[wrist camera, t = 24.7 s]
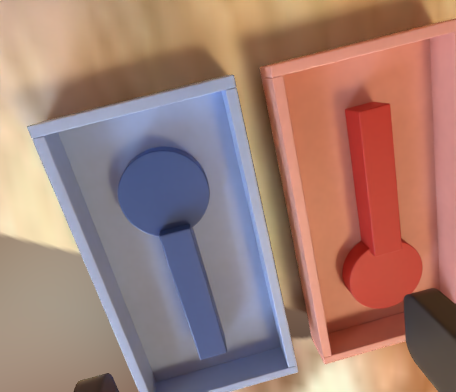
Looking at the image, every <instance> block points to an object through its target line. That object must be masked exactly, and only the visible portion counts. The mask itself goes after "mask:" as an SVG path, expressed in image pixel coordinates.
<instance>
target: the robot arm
mask: <svg viewBox="0 0 456 392" xmlns="http://www.w3.org/2000/svg"><path fill="white" fill-rule="evenodd" d="M404 319H405V337H406V343H407V347H408V350H409V352H410V354H411V356H412V358H413V360H414V361H415V363H416V364H417V365H418V367H419V368H420V369H421V370H422V372H423V373H424V374H425V375H426V377H427V378H428V379H429V380H430V382H431V383H432V384H433V385H434V387H435V388H436V389H437V390H438V392H456V304H455V303H453V302H452V301H451V300H450V299H449V298H448V297H446V296H445V295H444V294H443V293H442V292H441V291H439V290H438V289H436V288H430V289H426V290H422V291H418V292H415V293H411V294H407V295H405V297H404ZM74 392H119V391H118V389H117V386H116V384H115V382H114V379H113V377H112V376H111V374H109V373H107V374H103V375H99V376H95V377H92V378H88V379H84V380H80V381H79V382H78V383H77V384H76V387H75V389H74Z"/></svg>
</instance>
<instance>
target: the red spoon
mask: <svg viewBox="0 0 456 392" xmlns="http://www.w3.org/2000/svg"><path fill="white" fill-rule="evenodd" d="M345 116H346V124H347V131H348V139H349V147H350V155H351V163H352V171H353V179H354V187H355V195H356V203H357V211H358V219H359V227H360V234H361V241H360V242H359V243H358V244H356V245H355V246H354V247H353V248H352V249H351V251H350V252H349V253H348V255H347V257H346V259H345V261H344V264H343V268H342V277H343V282H344V284H345V286H346V288H347V289H348V290H349V292H350V293H351V294H352V296H353V297H354V298H355V299H356V300H357V301H358V302H359V303H360V304H362V305H364V306H366V307H370V308H375V309H382V308H388V307H391V306H394V305H396V304H398V303H400V302H402V301H403V300H404V297H405V295H407V294H411V293H412V292H413V291H414V290H415V289H416V287H417V285H418V284H419V281H420V279H421V276H422V270H423V265H422V260H421V257H420V255H419V253H418V252H417V250H416V249H415V248H414V247H413V246H411V245H410V244H409V243H407V242H406V241H404V240H403V239H402V238H401V228H400V216H399V204H398V192H397V180H396V168H395V156H394V144H393V132H392V120H391V108H390V104H389V103H380V102H370V103H366V104H362V105H358V106H354V107H351V108H347V109H345Z"/></svg>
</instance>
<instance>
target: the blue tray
mask: <svg viewBox="0 0 456 392" xmlns="http://www.w3.org/2000/svg"><path fill="white" fill-rule="evenodd" d="M27 128H28V131H29V133H30V135H31V138H33V142H34V144H35V147H36V149H37V152H38V154H39V156H40V159H41V161H42V163H43V166H44V168H45V170H46V173H47V175H48V178H49V180H50V182H51V185H52V187H53V189H54V192H55V194H56V197H57V199H58V201H59V204H60V206H61V208H62V211H63V213H64V215H65V218H66V220H67V223H68V225H69V227H70V230H71V232H72V234H73V237H74V239H75V242H76V244H77V246H78V249H79V251H80V253H81V256H82V258H83V260H84V263H85V265H86V268H87V270H88V272H89V274H90V277H91V279H92V281H93V284H94V286H95V289H96V291H97V293H98V296H99V298H100V300H101V303H102V305H103V308H104V310H105V313H106V315H107V317H108V320H109V322H110V324H111V327H112V329H113V331H114V334H115V336H116V339H117V341H118V343H119V346H120V348H121V350H122V353H123V355H124V357H125V360H126V362H127V364H128V367H129V369H130V371H131V374H132V376H133V379H134V381H135V383H136V386H137V388H138V391H139V392H230V391H234V390H237V389H241V388H244V387H248V386H251V385H255V384H258V383H262V382H265V381H269V380H272V379H276V378H279V377H283V376H286V375H289V374H293V373H296V372H298V368H297V363H296V359H295V354H294V349H293V345H292V340H291V336H290V331H289V326H288V322H287V317H286V313H285V308H284V303H283V299H282V294H281V290H280V285H279V280H278V276H277V271H276V267H275V262H274V257H273V253H272V248H271V244H270V239H269V234H268V230H267V225H266V221H265V216H264V211H263V207H262V202H261V198H260V193H259V188H258V184H257V179H256V175H255V170H254V165H253V161H252V156H251V152H250V147H249V142H248V138H247V133H246V128H245V124H244V119H243V115H242V110H241V105H240V101H239V96H238V92H237V88H236V82H235V78H234V75H226V76H222V77H218V78H214V79H210V80H206V81H202V82H198V83H194V84H190V85H186V86H182V87H178V88H174V89H170V90H166V91H162V92H158V93H154V94H150V95H146V96H142V97H138V98H134V99H130V100H126V101H122V102H118V103H114V104H110V105H106V106H102V107H98V108H94V109H90V110H86V111H82V112H78V113H74V114H70V115H66V116H62V117H58V118H54V119H50V120H46V121H43V122H40V123H36V124H33V125H30V126H27ZM156 147H172V148H177V149H180V150H182V151H184V152H187V153H188V154H190V155H191V156H192V157H194V158H195V159H196V160H197V161H198V162H199V163H200V165H201V166H202V168H203V170H204V172H205V174H206V177H207V180H208V184H209V189H210V198H209V204H208V207H207V210H206V212H205V214H204V216H203V217H202V218H201V220H200V221H199V222H198V223H197V224H196V225H195V226H194V227H193V230H194V233H195V236H196V240H197V243H198V246H199V250H200V253H201V257H202V260H203V263H204V267H205V270H206V273H207V277H208V280H209V284H210V287H211V290H212V294H213V297H214V300H215V304H216V307H217V311H218V314H219V317H220V321H221V324H222V327H223V331H224V334H225V340H226V346H227V353H224V354H221V355H217V356H214V357H210V358H207V359H203V360H201V359H200V357H199V354H198V351H197V348H196V345H195V342H194V339H193V336H192V333H191V330H190V327H189V324H188V322H187V319H186V316H185V313H184V310H183V307H182V304H181V301H180V298H179V295H178V292H177V289H176V286H175V283H174V280H173V277H172V274H171V271H170V268H169V265H168V262H167V259H166V256H165V253H164V250H163V247H162V244H161V241H160V238H159V236H154V235H151V234H148V233H145V232H143V231H141V230H139V229H138V228H136V227H135V226H134V225H133V224H131V223H130V222H129V220H128V219H127V218H126V217H125V215H124V213H123V212H122V210H121V207H120V204H119V200H118V185H119V181H120V178H121V176H122V174H123V172H124V170H125V169H126V167H127V166H128V164H129V163H130V162H131V161H132V159H134V158H135V157H136V156H137V155H138V154H140V153H142V152H144V151H146V150H148V149H151V148H156Z"/></svg>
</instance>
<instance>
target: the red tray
mask: <svg viewBox="0 0 456 392" xmlns="http://www.w3.org/2000/svg"><path fill="white" fill-rule="evenodd" d="M260 73H261V78H262V83H263V88H264V93H265V99H266V104H267V109H268V114H269V119H270V125H271V130H272V135H273V140H274V145H275V150H276V156H277V161H278V166H279V171H280V176H281V182H282V187H283V192H284V197H285V202H286V207H287V213H288V218H289V223H290V228H291V233H292V238H293V244H294V249H295V254H296V259H297V264H298V270H299V275H300V280H301V285H302V290H303V295H304V301H305V306H306V311H307V316H308V321H309V327H310V332H311V337H312V340H313V342H314V344H315V346H316V348H317V350H318V352H319V354H320V356H321V358H322V360H323V362H324V364H328V363H331V362H335V361H338V360H341V359H345V358H348V357H352V356H355V355H359V354H362V353H366V352H369V351H373V350H376V349H380V348H383V347H387V346H390V345H394V344H397V343H400V342H404V341H406V337H405V319H404V300H403V301H402V302H400V303H398V304H396V305H394V306H391V307H388V308H382V309H375V308H370V307H366V306H364V305H362V304H360V303H359V302H358V301H357V300H356V299H355V298H354V297H353V296H352V294H351V293H350V292H349V290H348V289H347V288H346V286H345V284H344V282H343V277H342V268H343V264H344V261H345V259H346V257H347V255H348V253H349V252H350V251H351V249H352V248H353V247H354V246H355V245H356V244H358V243H359V242H360V241H361V234H360V227H359V219H358V211H357V203H356V195H355V187H354V179H353V171H352V163H351V155H350V147H349V139H348V131H347V124H346V116H345V109H347V108H351V107H354V106H358V105H362V104H366V103H370V102H380V103H389V104H390V108H391V120H392V132H393V144H394V156H395V168H396V180H397V192H398V204H399V216H400V228H401V238H402V239H403V240H404V241H406V242H407V243H409V244H410V245H411V246H413V247H414V248H415V249H416V250H417V252H418V253H419V255H420V257H421V260H422V265H423V270H422V276H421V279H420V281H419V284H418V285H417V287H416V289H415V290H414V291H413V292H412V293H415V292H418V291H422V290H426V289H430V288H436V289H438V290H439V291H441V292H442V293H443V294H444V295H445V296H446V297H448V298H449V299H450V300H451V301H452V302H453V303H455V304H456V19H451V20H447V21H442V22H438V23H433V24H429V25H425V26H421V27H417V28H413V29H409V30H405V31H401V32H397V33H393V34H389V35H385V36H381V37H377V38H373V39H369V40H365V41H361V42H357V43H353V44H349V45H345V46H341V47H337V48H333V49H329V50H325V51H321V52H317V53H313V54H309V55H305V56H301V57H297V58H293V59H289V60H285V61H281V62H277V63H273V64H269V65H265V66H261V67H260Z"/></svg>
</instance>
